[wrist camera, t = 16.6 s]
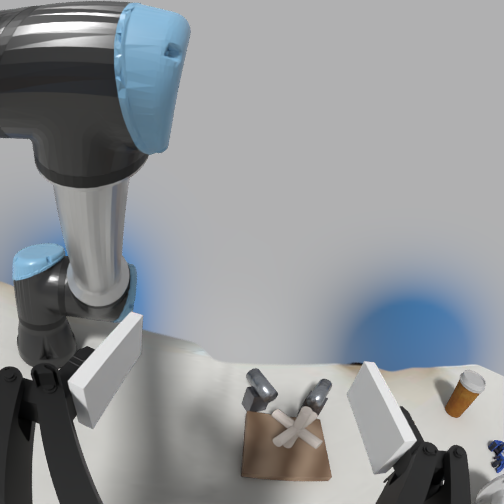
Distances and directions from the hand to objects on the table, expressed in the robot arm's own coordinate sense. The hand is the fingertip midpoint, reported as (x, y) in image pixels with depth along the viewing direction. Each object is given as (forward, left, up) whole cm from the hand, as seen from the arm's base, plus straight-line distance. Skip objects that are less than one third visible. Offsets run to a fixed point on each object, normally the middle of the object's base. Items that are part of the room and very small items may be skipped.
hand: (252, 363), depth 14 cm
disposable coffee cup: (+65, +28, -32) cm, 78 cm away
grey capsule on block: (+7, +28, -32) cm, 43 cm away
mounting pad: (+13, +18, -32) cm, 39 cm away
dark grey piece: (+19, +28, -32) cm, 47 cm away
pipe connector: (+13, +18, -31) cm, 38 cm away
